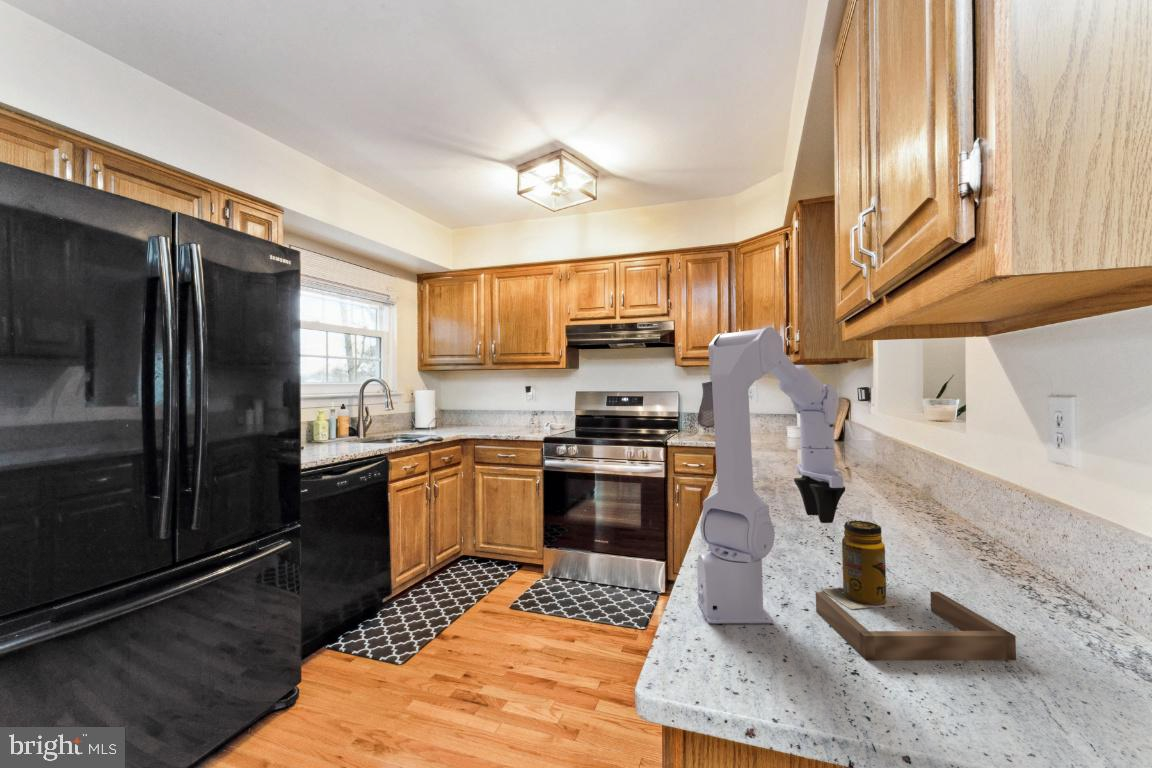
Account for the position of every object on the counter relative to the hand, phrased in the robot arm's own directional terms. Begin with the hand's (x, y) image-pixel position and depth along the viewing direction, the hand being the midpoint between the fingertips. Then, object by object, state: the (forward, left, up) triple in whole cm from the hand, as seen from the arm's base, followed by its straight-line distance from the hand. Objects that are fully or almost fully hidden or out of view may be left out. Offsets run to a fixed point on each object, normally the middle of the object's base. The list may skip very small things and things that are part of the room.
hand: (819, 518), depth 91 cm
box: (0, -25, -9) cm, 26 cm away
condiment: (0, -13, -10) cm, 16 cm away
